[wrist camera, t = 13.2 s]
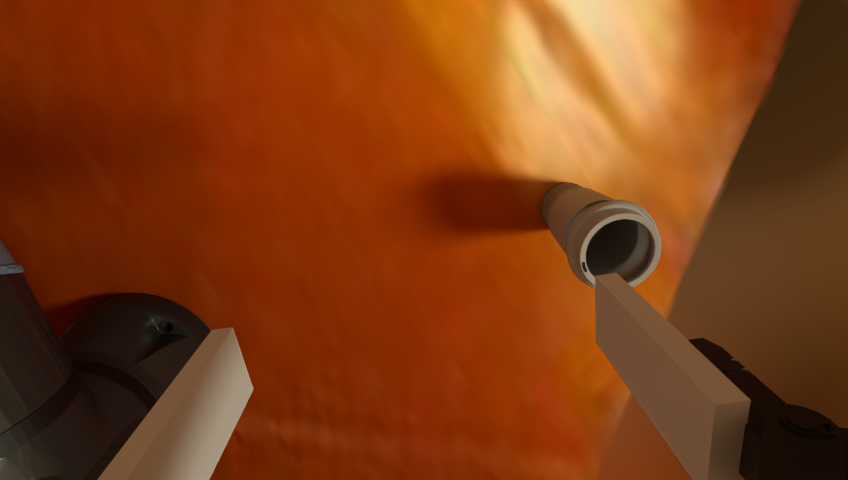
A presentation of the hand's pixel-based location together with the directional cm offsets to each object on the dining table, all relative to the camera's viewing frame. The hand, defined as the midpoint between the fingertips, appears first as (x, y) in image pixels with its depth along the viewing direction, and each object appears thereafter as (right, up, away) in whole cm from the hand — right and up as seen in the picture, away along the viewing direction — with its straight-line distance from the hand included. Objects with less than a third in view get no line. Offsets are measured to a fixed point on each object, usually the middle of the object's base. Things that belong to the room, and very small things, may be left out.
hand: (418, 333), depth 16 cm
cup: (+14, +7, +27) cm, 31 cm away
